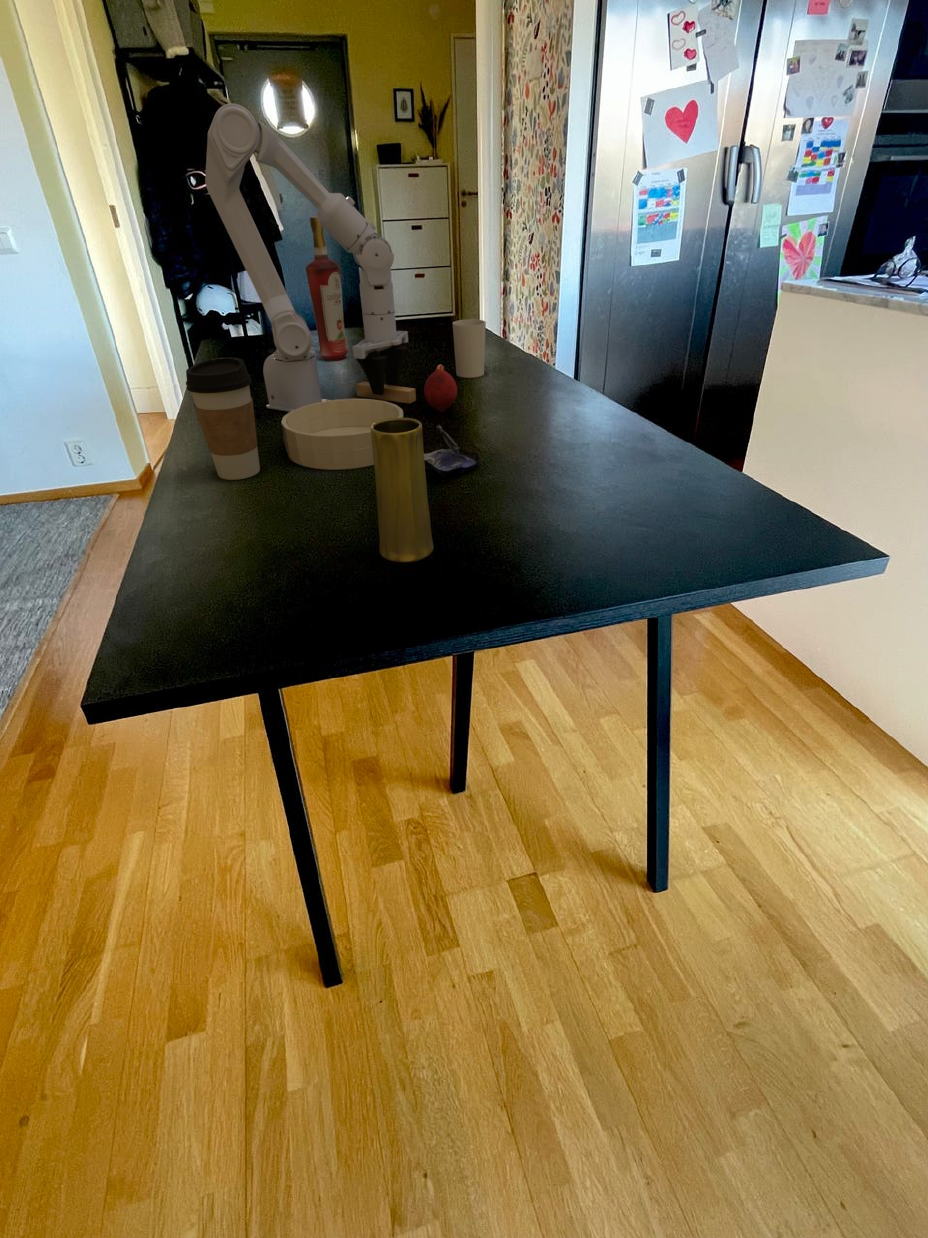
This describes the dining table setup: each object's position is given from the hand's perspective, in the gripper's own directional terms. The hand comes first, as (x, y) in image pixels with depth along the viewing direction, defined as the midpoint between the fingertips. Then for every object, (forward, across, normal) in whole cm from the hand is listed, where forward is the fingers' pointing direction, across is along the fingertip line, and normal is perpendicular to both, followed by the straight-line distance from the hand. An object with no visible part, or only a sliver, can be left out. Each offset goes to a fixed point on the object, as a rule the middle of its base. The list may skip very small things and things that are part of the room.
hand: (385, 390), depth 124 cm
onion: (+2, -3, -14) cm, 14 cm away
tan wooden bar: (+1, 0, 0) cm, 1 cm away
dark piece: (+2, -26, -27) cm, 38 cm away
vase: (+2, -49, -37) cm, 61 cm away
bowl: (+1, -25, -10) cm, 27 cm away
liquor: (+2, +22, +30) cm, 37 cm away
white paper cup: (+2, +22, -6) cm, 23 cm away
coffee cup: (+2, -40, -2) cm, 40 cm away
